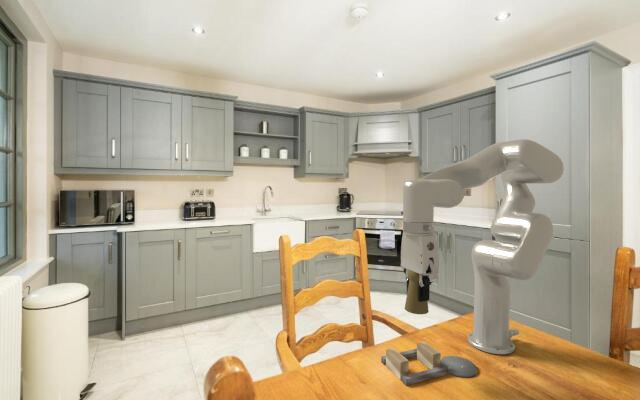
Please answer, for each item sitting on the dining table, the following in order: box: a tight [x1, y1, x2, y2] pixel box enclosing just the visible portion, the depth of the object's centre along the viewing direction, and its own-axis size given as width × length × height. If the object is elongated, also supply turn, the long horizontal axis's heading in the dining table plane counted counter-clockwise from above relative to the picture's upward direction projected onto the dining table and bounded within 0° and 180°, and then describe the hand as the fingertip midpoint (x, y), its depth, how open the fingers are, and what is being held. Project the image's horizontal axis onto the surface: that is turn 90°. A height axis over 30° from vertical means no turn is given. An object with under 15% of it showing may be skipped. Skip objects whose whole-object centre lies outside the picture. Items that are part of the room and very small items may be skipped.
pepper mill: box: [404, 270, 429, 315], centre depth 83 cm, size 6×6×11 cm
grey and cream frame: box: [380, 341, 448, 386], centre depth 84 cm, size 12×11×4 cm
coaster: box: [440, 355, 478, 378], centre depth 84 cm, size 9×9×1 cm
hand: (417, 297), depth 83 cm, fingers closed on pepper mill, 3 cm apart
